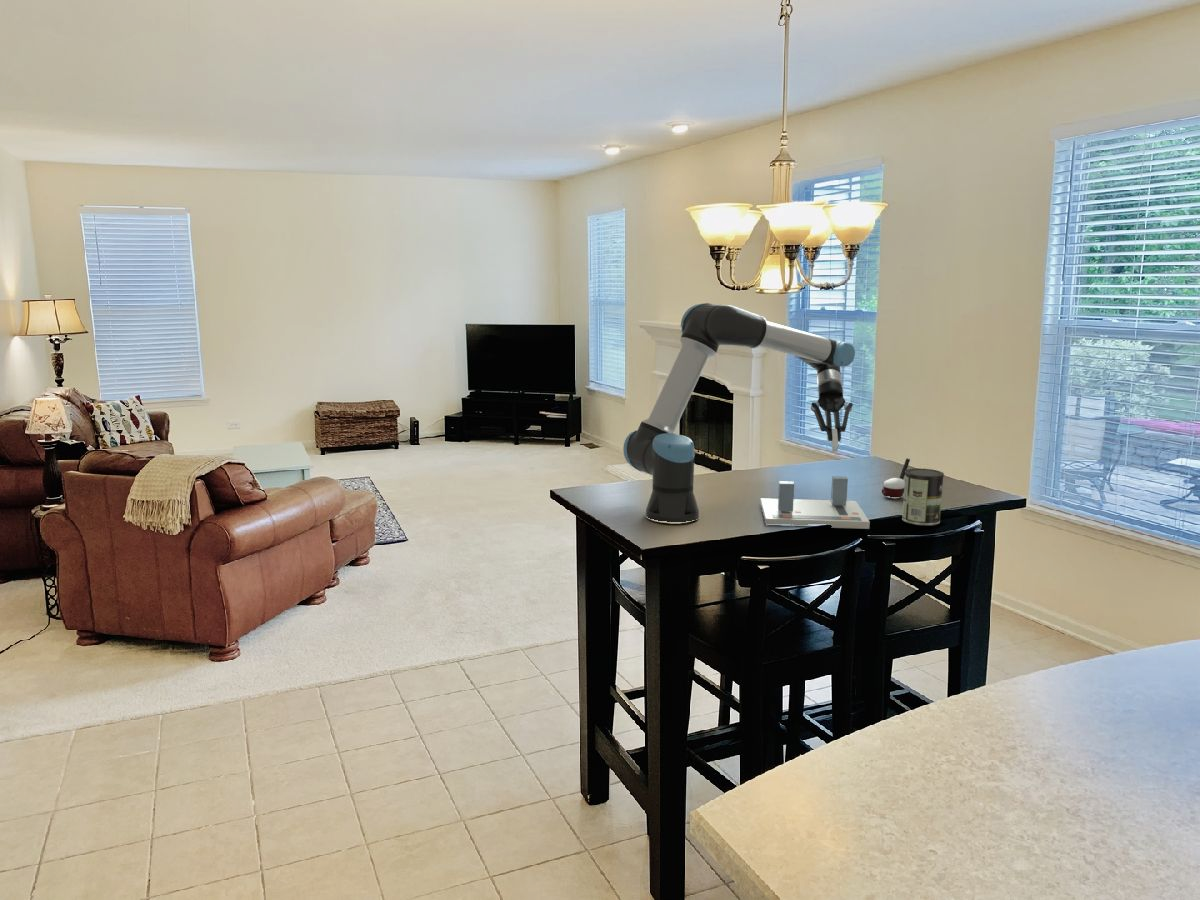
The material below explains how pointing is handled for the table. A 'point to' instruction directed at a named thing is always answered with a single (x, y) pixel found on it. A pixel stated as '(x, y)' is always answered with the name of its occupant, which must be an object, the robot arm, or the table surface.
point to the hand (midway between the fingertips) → (835, 449)
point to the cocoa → (895, 484)
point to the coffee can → (922, 496)
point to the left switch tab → (785, 496)
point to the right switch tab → (839, 490)
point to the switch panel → (815, 513)
